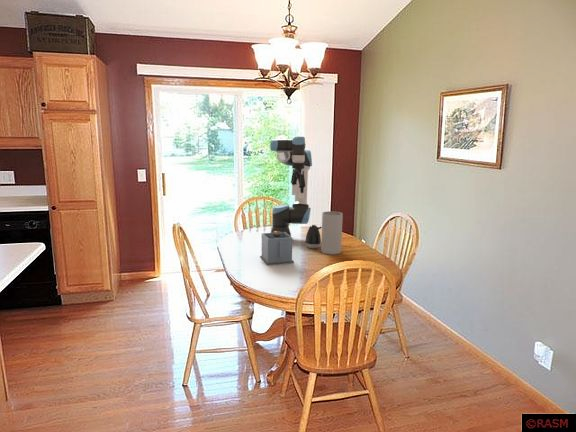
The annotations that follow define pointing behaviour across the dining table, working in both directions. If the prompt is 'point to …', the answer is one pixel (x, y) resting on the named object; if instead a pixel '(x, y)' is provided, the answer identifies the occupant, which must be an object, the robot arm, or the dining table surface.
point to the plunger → (276, 234)
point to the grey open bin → (276, 249)
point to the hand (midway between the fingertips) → (297, 196)
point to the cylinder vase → (331, 232)
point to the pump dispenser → (313, 237)
